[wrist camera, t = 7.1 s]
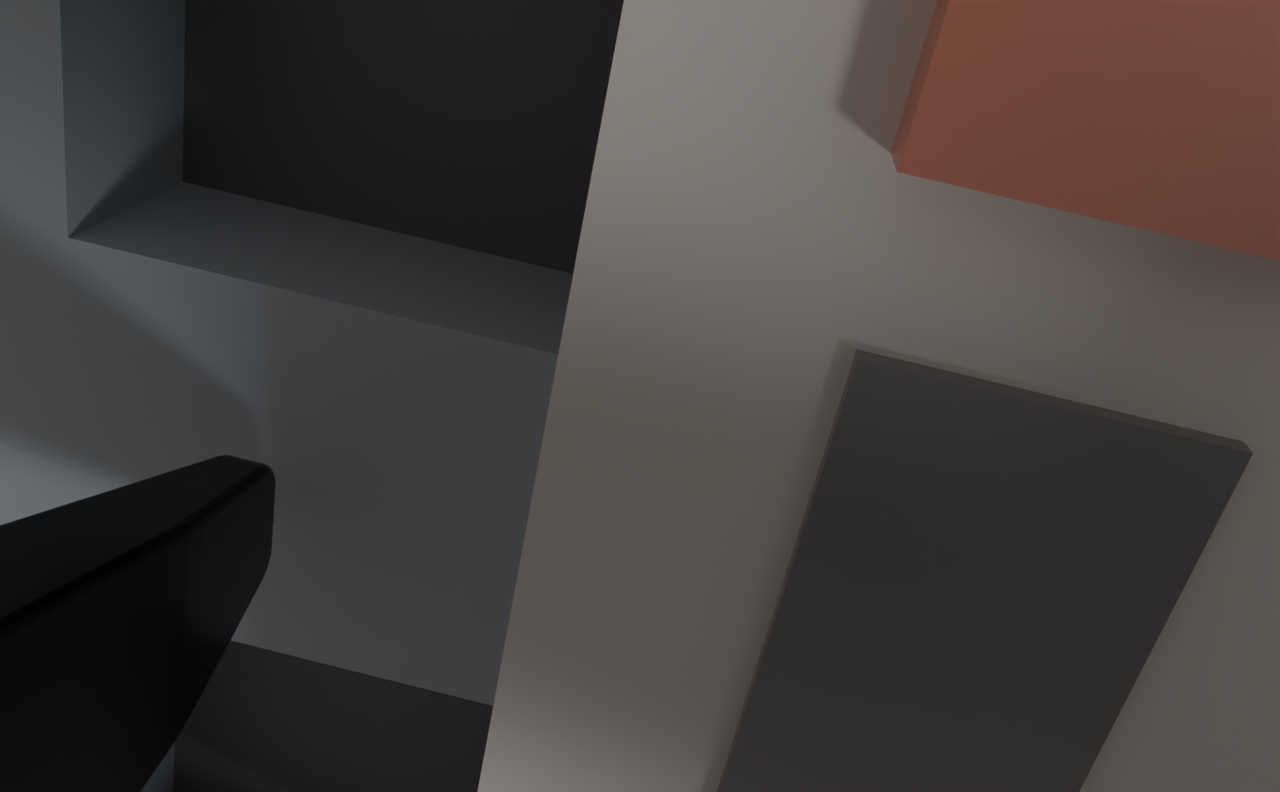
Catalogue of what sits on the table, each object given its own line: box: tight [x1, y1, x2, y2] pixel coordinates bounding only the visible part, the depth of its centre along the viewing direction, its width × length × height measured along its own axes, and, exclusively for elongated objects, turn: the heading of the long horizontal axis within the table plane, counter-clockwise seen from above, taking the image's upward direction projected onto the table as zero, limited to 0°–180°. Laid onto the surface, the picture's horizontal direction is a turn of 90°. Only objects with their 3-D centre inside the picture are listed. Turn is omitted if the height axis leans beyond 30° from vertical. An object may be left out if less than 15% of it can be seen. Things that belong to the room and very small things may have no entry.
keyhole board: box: [0, 0, 624, 792], centre depth 10 cm, size 16×14×2 cm
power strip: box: [478, 0, 1280, 792], centre depth 8 cm, size 13×4×5 cm, turn 169°
